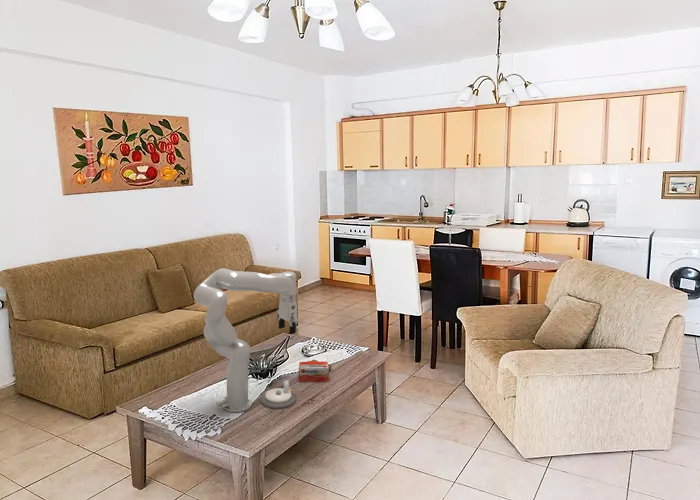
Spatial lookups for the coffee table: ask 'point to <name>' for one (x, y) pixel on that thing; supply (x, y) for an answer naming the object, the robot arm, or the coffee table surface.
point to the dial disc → (279, 394)
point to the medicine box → (313, 372)
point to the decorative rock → (317, 361)
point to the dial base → (278, 405)
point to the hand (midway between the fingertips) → (287, 330)
